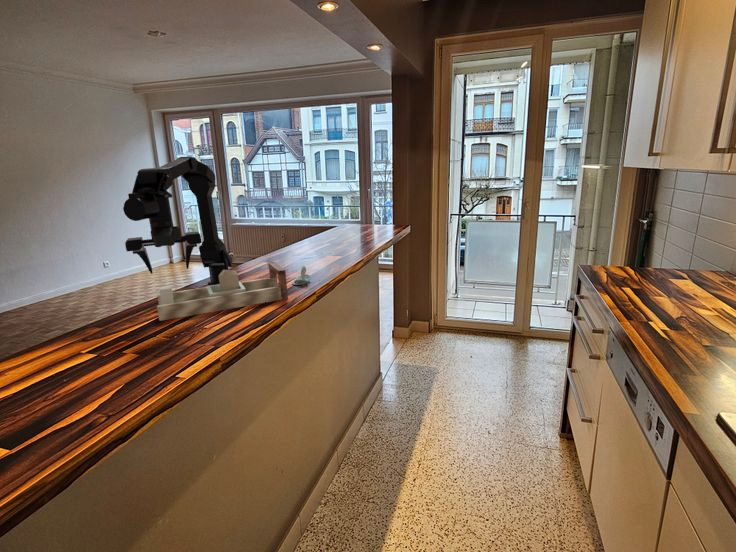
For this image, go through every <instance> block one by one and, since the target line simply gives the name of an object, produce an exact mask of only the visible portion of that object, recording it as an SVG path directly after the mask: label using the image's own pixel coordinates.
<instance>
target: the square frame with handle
mask: <svg viewBox="0 0 736 552" xmlns="http://www.w3.org/2000/svg"><path fill="white" fill-rule="evenodd" d="M241 282H242V281H240V280H239V287H240V289H235V290H229V291H223V292H221V290H220V284H218V285H212V284H210V285H206V286H205V287H207V294H208V298H209V297H215V296H221V295H227V294H234V293H240V292H246V289H245V287H244V286H243V285H242V283H241ZM172 292H173V289H172V285H169V286H162V287H159V294H160V295H161V301H162V305H165V304H171V303H174V300H173V294H172Z"/></svg>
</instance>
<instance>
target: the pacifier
mask: <svg viewBox="0 0 736 552" xmlns="http://www.w3.org/2000/svg"><path fill="white" fill-rule="evenodd" d="M306 273H307V267H306V266H305V265H303V266H301V269H300V275H299V276H298V277H297V278H295V279H294V280H293V281H292V283H291V285H293V286H301V285H306V284H307V283H308V282H309V281H310V280H311V276H310V275H309V274H308V273H307V274H306Z"/></svg>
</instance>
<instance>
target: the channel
mask: <svg viewBox="0 0 736 552" xmlns="http://www.w3.org/2000/svg"><path fill="white" fill-rule="evenodd" d="M268 271H269V277H266V278H265V277H264V278H257V279H250V280H246V281H245V280H243V281H240V282H241V283H242V285H243V286H244V287H245V289H246V292H240V293H234V294H227V295H221V296H215V297H209V298H208V294H207V287H206V286H205V287H204V286H203V287H198V288H191V289H185V290H177V291H172V294H173V300H174V303H171V304H165V305H162V301H161V295H160V293H158V294H157V295H156V296H157V301H158V305H156V310H157V314H158V320H159V321H160V322H161V321H166V320H167V321H168V320H173V319H178V318H185V317H189V316H196V315H202V314H207V313H213V312H220V311H224V310H231V309H235V308H237V309H238V308H241V307H247V306H253V305H259V303H260V304H266V303H270V302H275V301H283V300H287V299H289V297H288V296H289V295H288V283H287V275H286V274H287V273H286V269H284V268H283V267H282V266H280V265H279V264H278V263H277V262H274V261H271V262H268ZM277 276H278V277H277ZM265 302H266V303H265Z"/></svg>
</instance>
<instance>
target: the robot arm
mask: <svg viewBox="0 0 736 552" xmlns="http://www.w3.org/2000/svg"><path fill="white" fill-rule="evenodd" d="M179 177H181V178H182V179H183V180H185V181H186V183H187V186H188V189H189V190H190V192H191V193H192V194H193V195H194V196H195V200H196V203H197V209H198V215H199V221H200V226H201V228H200V229H201V232H202V235H201V233H200V232H199V231H188V232H184V235H182V234H181V233H182V232H181V228H180V225H177V226H176V225H175V226H174V222H173V215H172V209H171V203H170V198H171V199H172V198H173V194H172V193H171V192H169V191H168V190H169V189H170V188H171V187H172V186H173V184H174V180H175V179H176V180H177V178H179ZM215 188H216V175H215V172H214V171H213V170H212V169H211V168H210V166H208V165H207V164H205V163H202V162H201V161H199V160H198V159H197V158H196V157H194V156H179V157H176V159H175V160H172V161H170V162H168V163H166V164H163V165H161V166H159V167H150V168H149V167H148V168H141V169H139V170H138V171H137V174H136V178H135V181H134V184H133V188H132V192H131V193H128V194H127V195H128V198H127V200H125V202H124V203H123V208H122V209H123V210H122V211H123V212H124V215H125V216H126V218H128V219H129V220H131V221H134V222H139V221H143V220H147V219H148V221H149V226H150V237H151V238H149V239H148V238H147V239H143V237H142V236H140V237H129V238H127V240H126V241H125V242H124V245H125V250H126V252H132V254H133V255H138V256H139V257H140V259H141V260H142V261H143V263H144V264H145V266H146V268H147V269H148V271H149V273H150V275H151V274H153V267H152V264H151V261H150V258H149V255H148V251H147V248H146V247H151V246H154V247H155V248H161V247H165V246H166V247H168V246H169V247H171V246H174V245H175V244H180V243H184V245H185V246H184V247H185V248H184V249H185V250H184V251H185V254H184V255H185V267H186V269H187V270H188V269H189V266H190V260H191V255H192V252H193V250H194V248H197V247H198V249H199V257H200V260H201V262H202V266H203V268H208V271H209V279H210V281H208V282H207V284H208V285H218V284H220V282H219V274H220V273H221V272H222V271H223V270H230V269H229V267H232V265H233V257H232V256H231V255H230V253H229V252H228V251H227V248H226V245H225V243H224V241H222V239H221V238H220V237H219V232H218V227H217V226H218V225H217V220H216V213H215V208H214V202H213V201H214V200H213V193H214V191H215ZM202 237H203V240H202ZM198 244H200V245H199V246H198Z"/></svg>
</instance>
